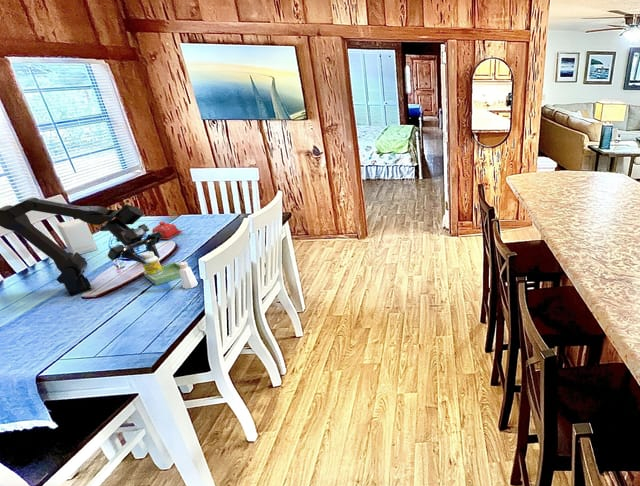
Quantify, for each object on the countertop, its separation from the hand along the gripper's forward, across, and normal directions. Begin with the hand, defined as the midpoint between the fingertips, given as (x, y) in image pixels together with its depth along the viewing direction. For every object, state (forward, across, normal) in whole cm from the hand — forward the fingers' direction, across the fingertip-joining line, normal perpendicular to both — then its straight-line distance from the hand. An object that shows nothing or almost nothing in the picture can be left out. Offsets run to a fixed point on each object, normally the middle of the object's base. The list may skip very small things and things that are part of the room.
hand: (152, 260), depth 159 cm
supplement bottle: (+4, 0, +6) cm, 7 cm away
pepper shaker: (+17, +4, +1) cm, 17 cm away
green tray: (+4, +8, +14) cm, 16 cm away
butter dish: (-25, +40, +43) cm, 64 cm away
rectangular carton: (-40, +15, +58) cm, 72 cm away
